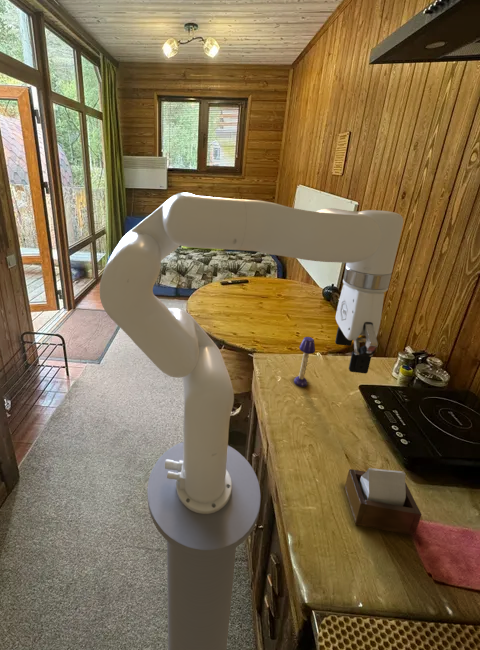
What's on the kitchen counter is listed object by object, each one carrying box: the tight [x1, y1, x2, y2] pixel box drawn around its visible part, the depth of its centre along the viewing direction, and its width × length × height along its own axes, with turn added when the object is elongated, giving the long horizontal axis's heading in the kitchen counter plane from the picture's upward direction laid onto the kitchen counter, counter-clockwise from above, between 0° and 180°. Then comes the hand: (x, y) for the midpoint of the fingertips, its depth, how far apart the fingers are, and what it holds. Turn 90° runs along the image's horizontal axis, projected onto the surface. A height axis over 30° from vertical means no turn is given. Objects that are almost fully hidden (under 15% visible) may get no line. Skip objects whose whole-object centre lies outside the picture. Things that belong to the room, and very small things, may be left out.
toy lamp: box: [293, 336, 316, 388], centre depth 99 cm, size 5×5×17 cm
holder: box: [344, 468, 422, 536], centre depth 62 cm, size 11×7×6 cm
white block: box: [359, 467, 407, 506], centre depth 61 cm, size 4×7×10 cm, turn 84°
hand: (349, 357), depth 63 cm, fingers open, 9 cm apart
